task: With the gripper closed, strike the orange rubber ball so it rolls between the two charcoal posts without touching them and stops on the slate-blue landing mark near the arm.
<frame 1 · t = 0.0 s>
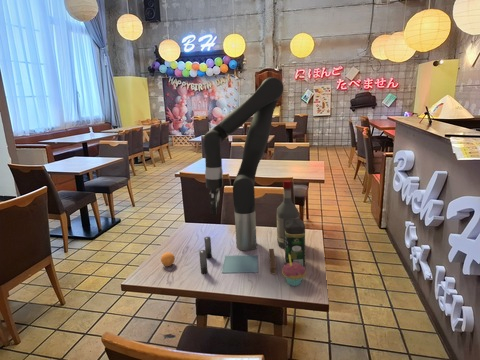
hand: (215, 211, 142), 17 cm above the table, tool pointing down, fingers open, 8 cm apart
coffee jar: (294, 264, 128), on the table
post 1: (204, 272, 125), on the table
cupcake: (293, 282, 115), on the table
post 2: (208, 257, 137), on the table
ball: (167, 259, 131), on the table
liquor: (287, 244, 145), on the table
stopper wall: (272, 263, 129), on the table
landing mark: (240, 263, 130), on the table
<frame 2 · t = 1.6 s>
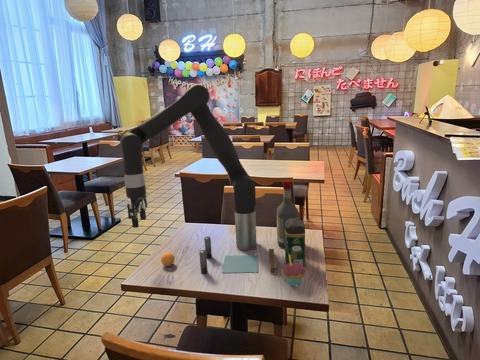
hand: (139, 223, 128), 19 cm above the table, tool pointing down, fingers open, 8 cm apart
nothing on the table moved.
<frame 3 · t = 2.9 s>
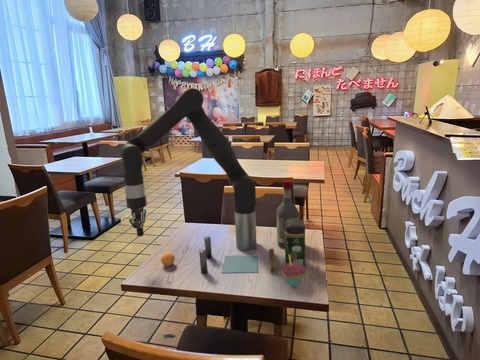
hand: (140, 235, 129), 13 cm above the table, tool pointing down, fingers closed
nothing on the table moved.
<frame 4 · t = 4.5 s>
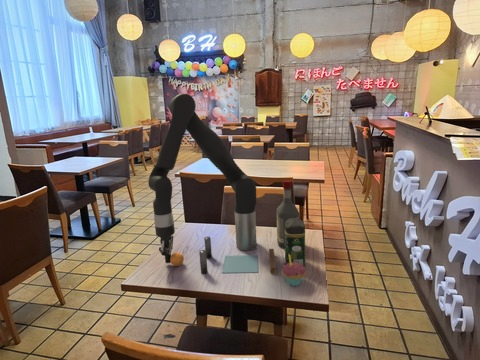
hand: (168, 262, 132), 1 cm above the table, tool pointing down, fingers closed
ball: (176, 259, 131), on the table
everything else where it was.
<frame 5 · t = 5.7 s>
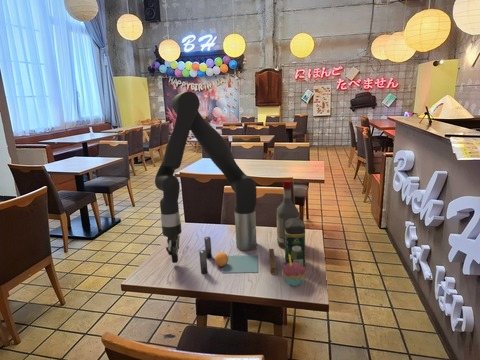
hand: (175, 261, 131), 2 cm above the table, tool pointing down, fingers closed
ball: (221, 259, 129), on the table
everything else where it was.
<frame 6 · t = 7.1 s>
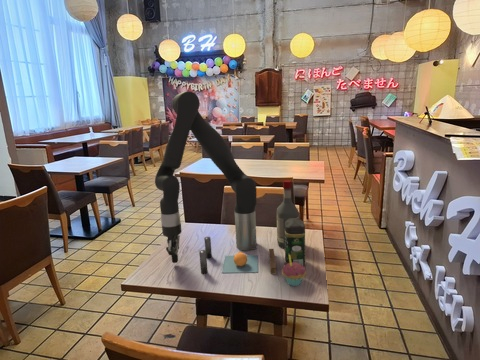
hand: (175, 261, 131), 2 cm above the table, tool pointing down, fingers closed
ball: (240, 259, 128), on the table
everything else where it was.
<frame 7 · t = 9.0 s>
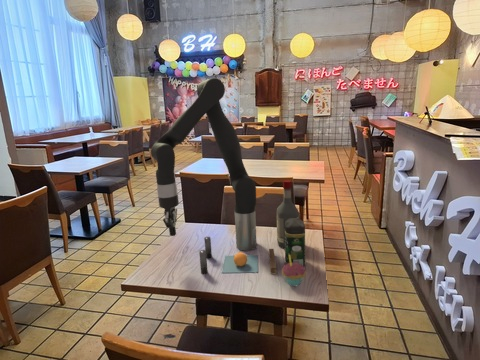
hand: (173, 235, 128), 14 cm above the table, tool pointing down, fingers closed
nothing on the table moved.
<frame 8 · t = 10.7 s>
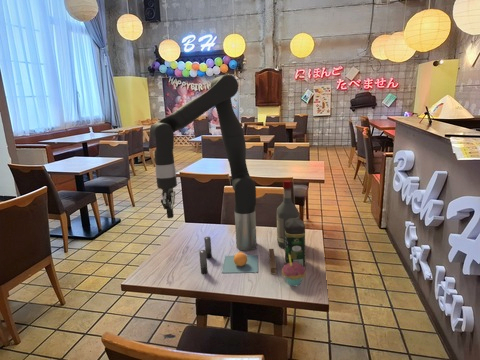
hand: (170, 217, 126), 21 cm above the table, tool pointing down, fingers closed
nothing on the table moved.
at the end: ball 1.4 cm from the landing mark (horizontally); ball never touched post 1; ball never touched post 2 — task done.
